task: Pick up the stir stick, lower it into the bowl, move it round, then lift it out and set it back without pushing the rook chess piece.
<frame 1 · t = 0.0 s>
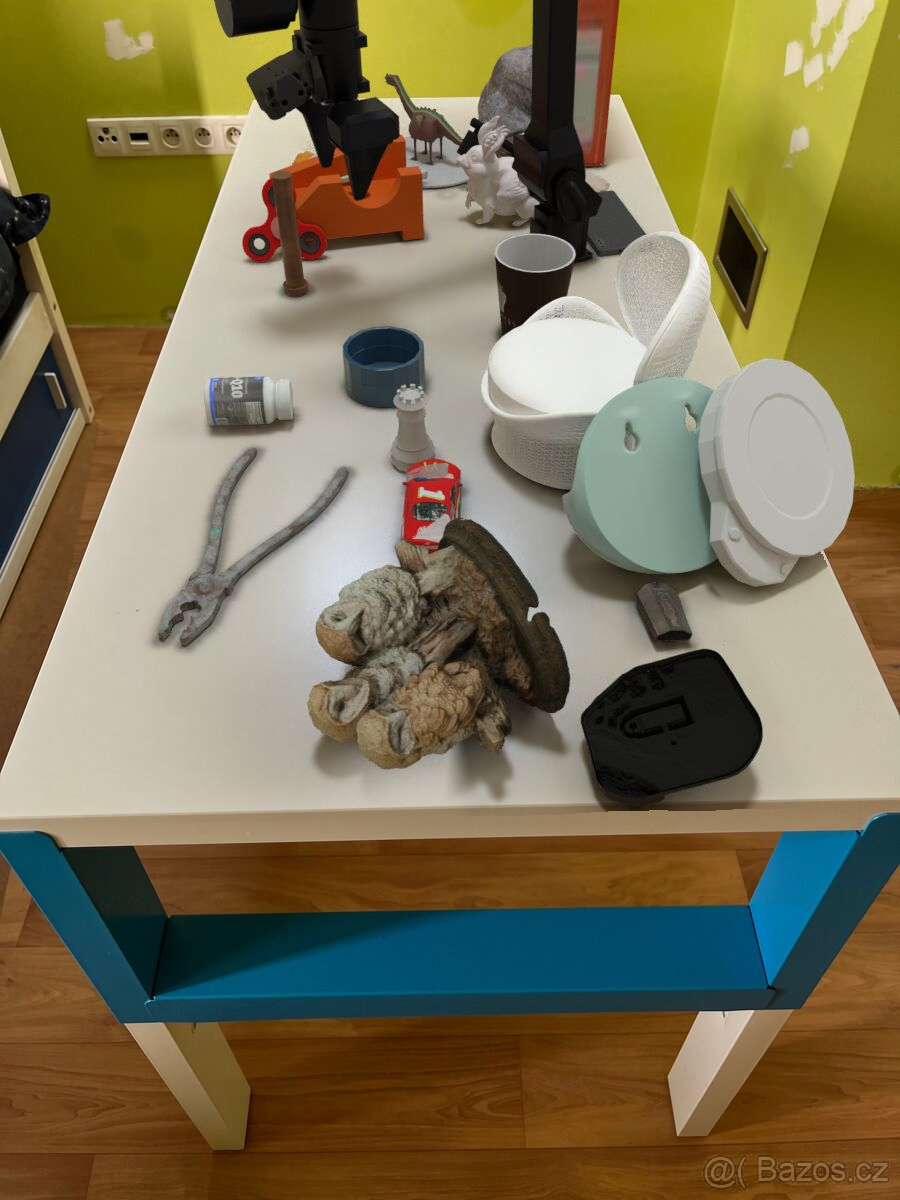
hand: (342, 182, 106), 15 cm above the table, tool pointing down, fingers open, 9 cm apart
stone: (562, 169, 138), point 2 cm above the table
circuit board: (496, 135, 149), point 1 cm above the table, touching fossil
block: (662, 620, 82), on the table
toy: (282, 218, 123), point 5 cm above the table, touching tape dispenser
black plastic housing: (668, 720, 70), point 4 cm above the table
rook chess piece: (413, 462, 97), on the table
owl figurine: (516, 612, 74), point 6 cm above the table
light fixture: (463, 208, 140), on the table, touching fossil
pill bottle: (205, 402, 99), point 2 cm above the table
bowl: (385, 384, 106), on the table
stir stick: (296, 290, 120), on the table
file binder: (567, 144, 150), on the table, touching fossil
chair: (578, 440, 99), on the table, touching planter
planter: (675, 572, 87), on the table, touching lid, chair
red letter cube: (331, 149, 149), on the table
race car: (432, 522, 91), on the table
figurine 2: (380, 153, 141), point 3 cm above the table, touching dinosaur, tape dispenser
fossil: (487, 86, 139), point 10 cm above the table, touching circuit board, file binder, light fixture
smartphone: (587, 194, 135), point 1 cm above the table
dinosaur: (428, 162, 145), on the table, touching figurine 2
figurine: (511, 216, 133), on the table
tape dispenser: (347, 225, 131), on the table, touching figurine 2, toy
coffee mug: (531, 330, 114), on the table
pliers: (300, 456, 97), on the table
lid: (758, 478, 86), point 5 cm above the table, touching planter
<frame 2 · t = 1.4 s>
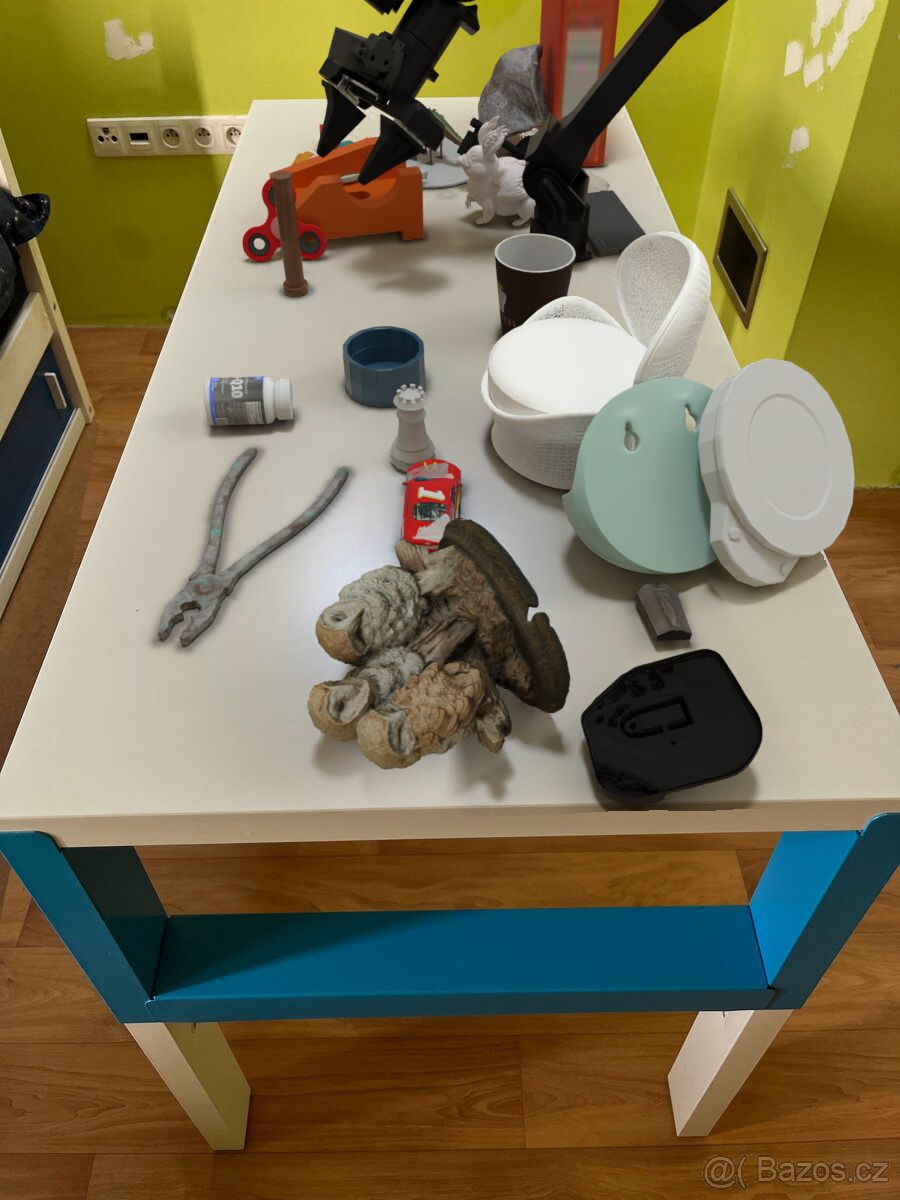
hand: (339, 169, 113), 13 cm above the table, tool tilted 45°, fingers open, 9 cm apart
light fixture: (463, 208, 140), on the table
fossil: (487, 85, 139), point 10 cm above the table, touching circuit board, file binder
everything else where it was.
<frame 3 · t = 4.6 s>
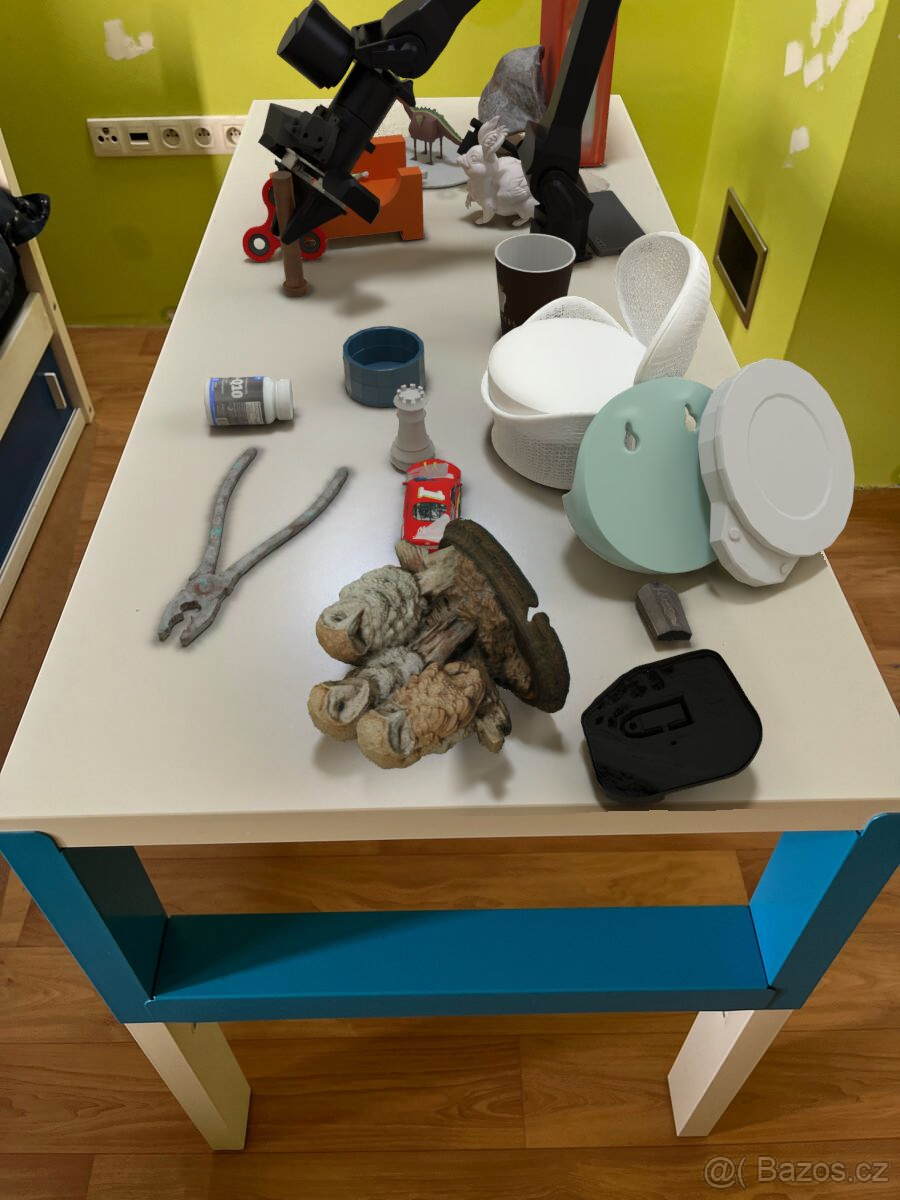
hand: (278, 238, 114), 7 cm above the table, tool tilted 45°, fingers closed on stir stick, 2 cm apart
stir stick: (296, 290, 120), on the table, touching gripper
everything else where it was.
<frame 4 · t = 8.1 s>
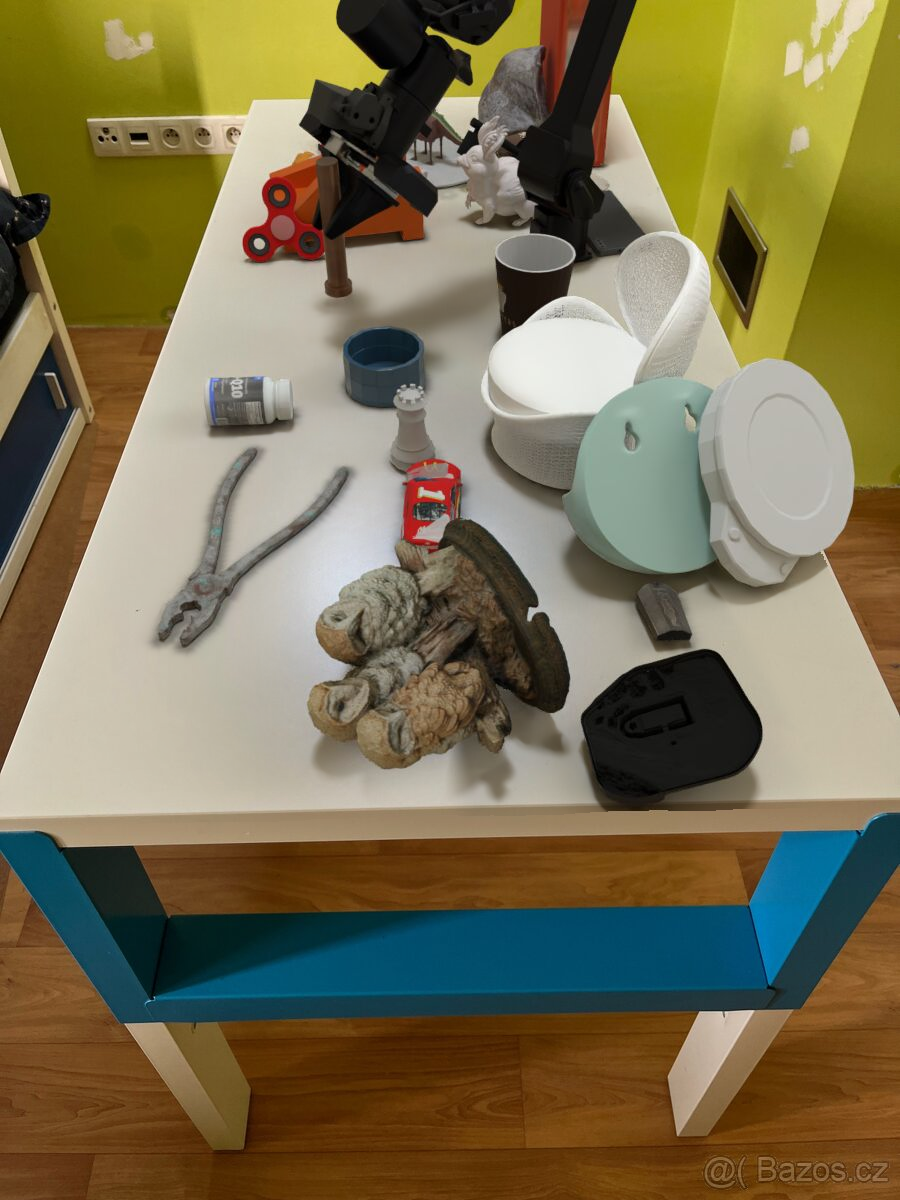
hand: (321, 232, 102), 13 cm above the table, tool tilted 45°, fingers closed on stir stick, 2 cm apart
light fixture: (463, 208, 140), on the table, touching fossil
stir stick: (338, 291, 108), point 6 cm above the table, touching gripper
fossil: (489, 84, 139), point 10 cm above the table, touching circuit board, file binder, light fixture
everything else where it was.
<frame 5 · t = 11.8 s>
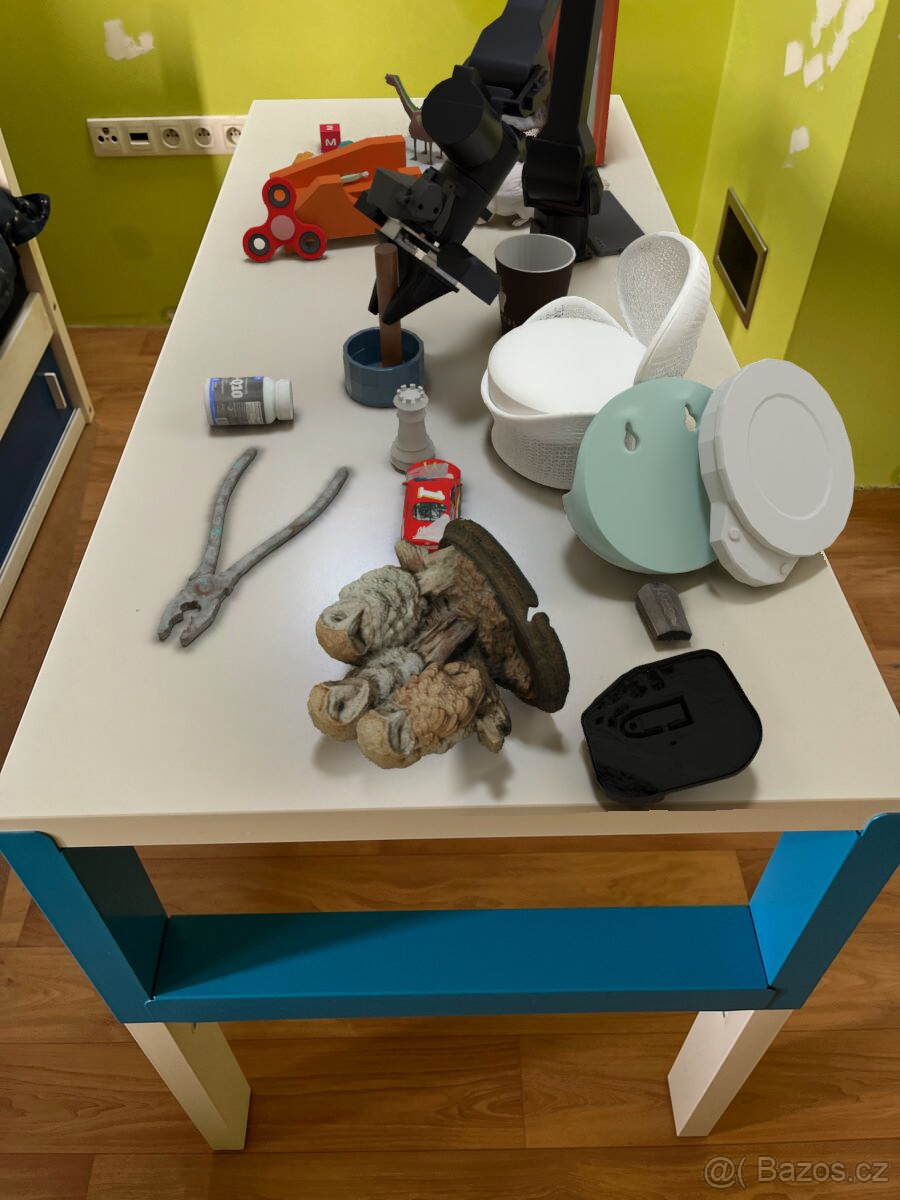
hand: (378, 318, 99), 8 cm above the table, tool tilted 45°, fingers closed on stir stick, 2 cm apart
stir stick: (392, 373, 105), point 1 cm above the table, touching gripper
everything else where it was.
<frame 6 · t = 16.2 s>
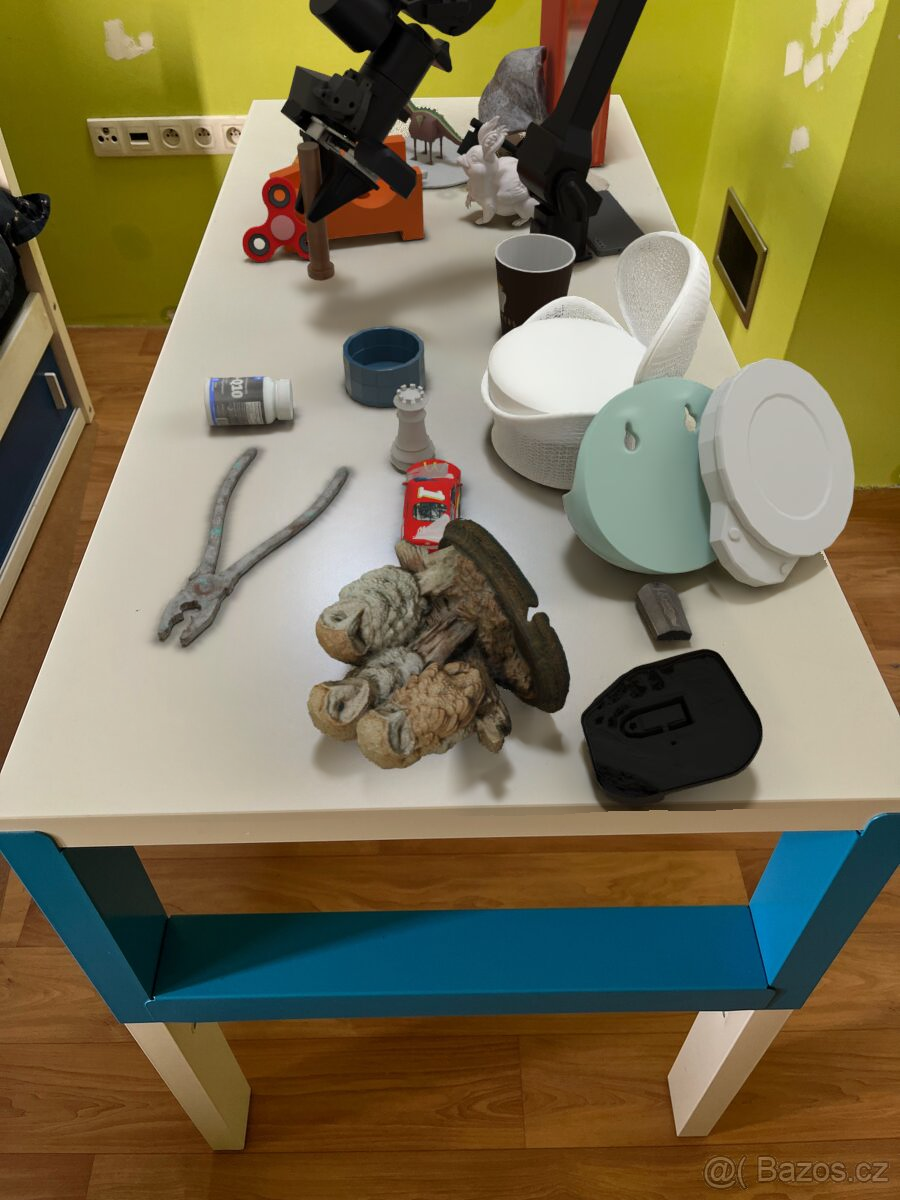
hand: (303, 216, 105), 13 cm above the table, tool tilted 45°, fingers closed on stir stick, 2 cm apart
stir stick: (321, 274, 110), point 6 cm above the table, touching gripper
everything else where it was.
when the fingers open (7 cm above the table, at t = 19.4 s): stir stick stays where it is, on the table.
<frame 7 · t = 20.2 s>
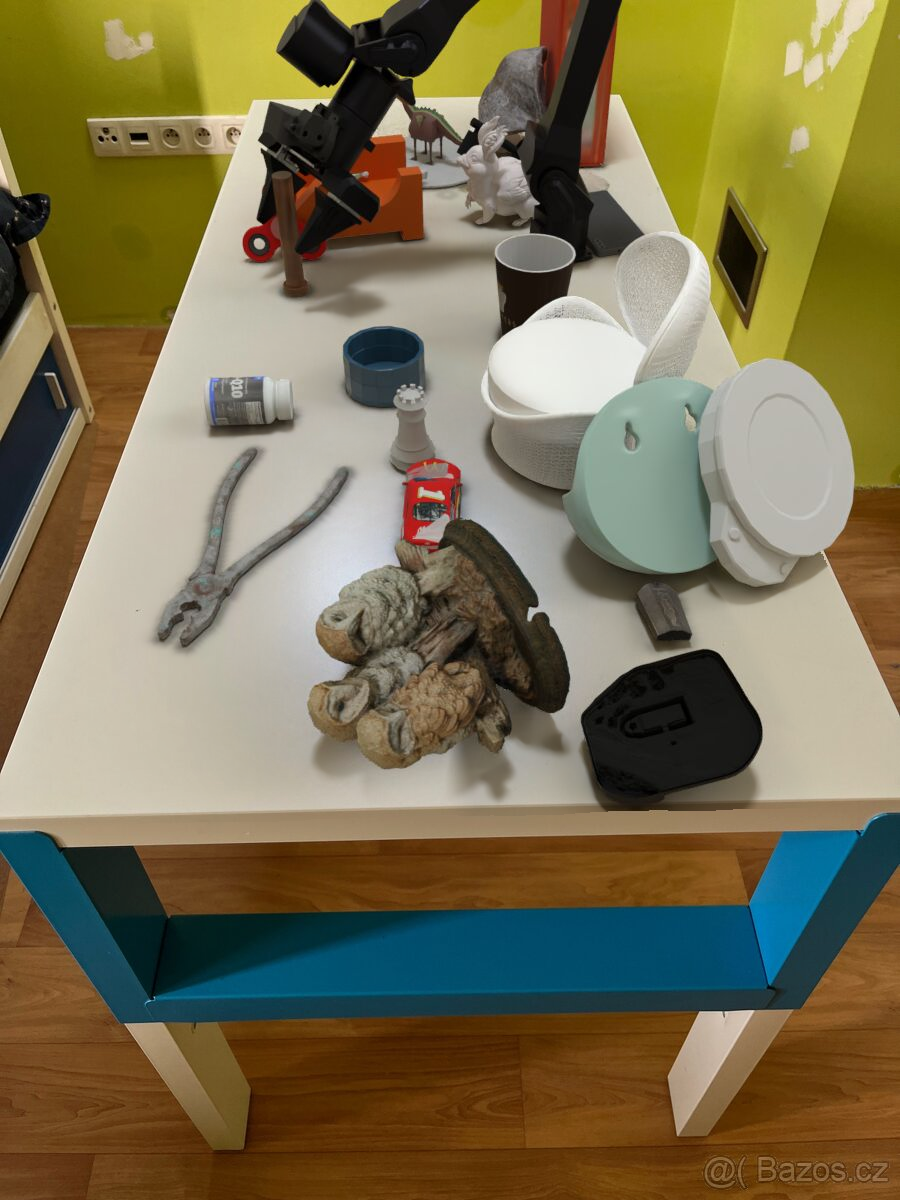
hand: (278, 237, 114), 7 cm above the table, tool tilted 45°, fingers open, 9 cm apart
stir stick: (296, 290, 120), on the table
everything else where it was.
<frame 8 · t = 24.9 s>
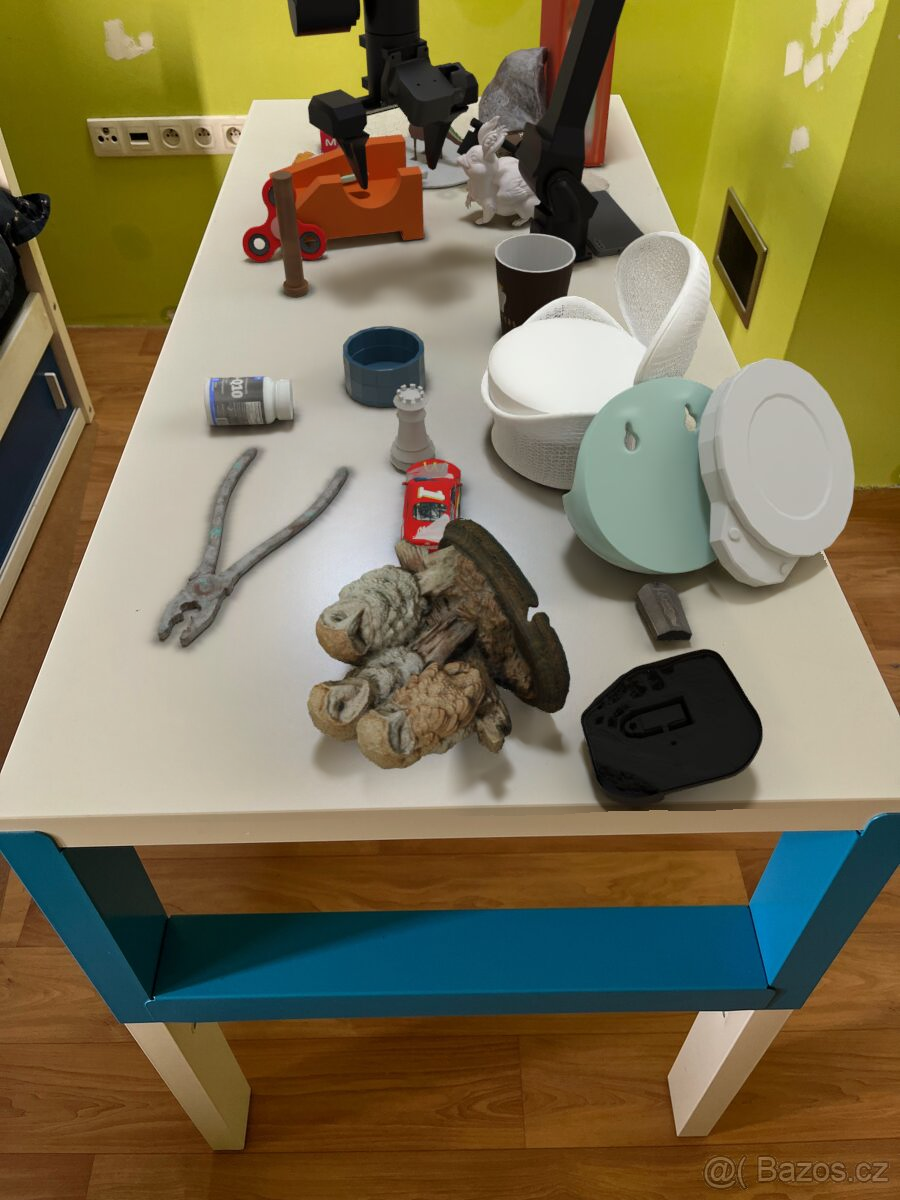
hand: (398, 178, 113), 12 cm above the table, tool pointing down, fingers open, 9 cm apart
light fixture: (463, 208, 140), on the table
fossil: (490, 83, 139), point 10 cm above the table, touching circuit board, file binder
everything else where it was.
at the end: stir stick 0.0 cm from the target spot, on the table; stir stick tilted 0°; rook chess piece moved 0.4 cm from its start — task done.
